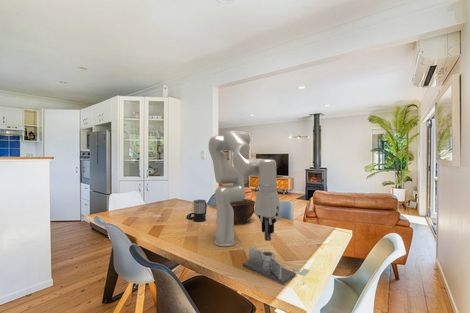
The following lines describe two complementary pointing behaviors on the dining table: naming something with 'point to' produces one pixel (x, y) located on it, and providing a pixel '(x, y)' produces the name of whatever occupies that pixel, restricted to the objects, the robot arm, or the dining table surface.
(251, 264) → the hinge stand
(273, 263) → the hinge leaf
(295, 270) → the mounting bracket
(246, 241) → the dining table surface
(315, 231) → the dining table surface
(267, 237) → the hinge pin
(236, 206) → the bowl
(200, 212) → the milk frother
